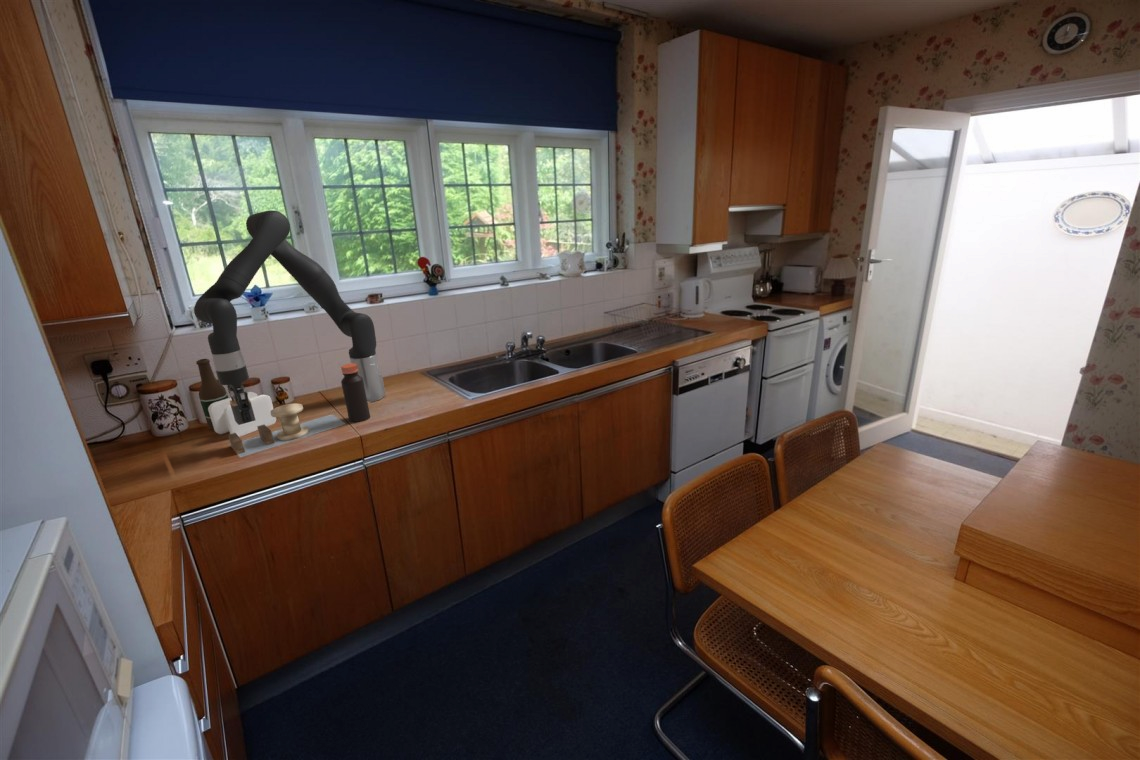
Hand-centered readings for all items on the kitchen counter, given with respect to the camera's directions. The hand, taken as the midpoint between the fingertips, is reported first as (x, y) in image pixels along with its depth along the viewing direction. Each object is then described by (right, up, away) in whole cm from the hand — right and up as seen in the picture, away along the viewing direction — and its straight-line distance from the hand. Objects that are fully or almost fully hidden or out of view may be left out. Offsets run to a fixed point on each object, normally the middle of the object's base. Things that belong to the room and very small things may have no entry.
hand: (245, 419), depth 151 cm
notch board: (0, -8, +3) cm, 9 cm away
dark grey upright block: (0, 0, 0) cm, 0 cm away
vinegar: (+27, -2, +19) cm, 33 cm away
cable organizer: (-10, -5, +16) cm, 20 cm away
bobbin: (+10, -6, +9) cm, 14 cm away
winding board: (+8, -6, +10) cm, 14 cm away
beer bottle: (-22, -4, +21) cm, 31 cm away
